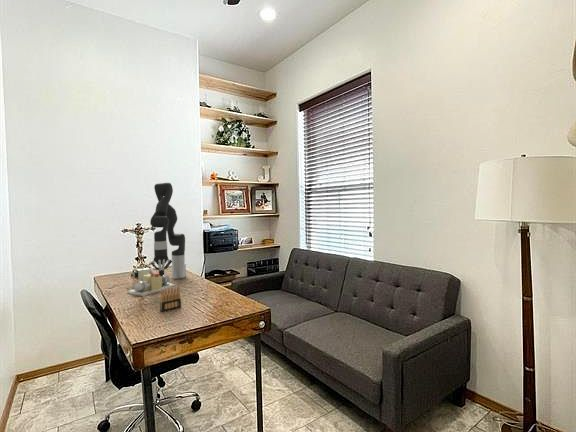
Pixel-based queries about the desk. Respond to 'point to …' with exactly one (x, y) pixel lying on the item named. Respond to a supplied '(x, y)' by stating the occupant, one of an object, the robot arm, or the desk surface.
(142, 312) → the desk surface
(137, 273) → the pneumatic valve
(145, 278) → the valve stand
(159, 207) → the robot arm
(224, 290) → the desk surface
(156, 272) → the valve lever
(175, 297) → the ammunition clip
